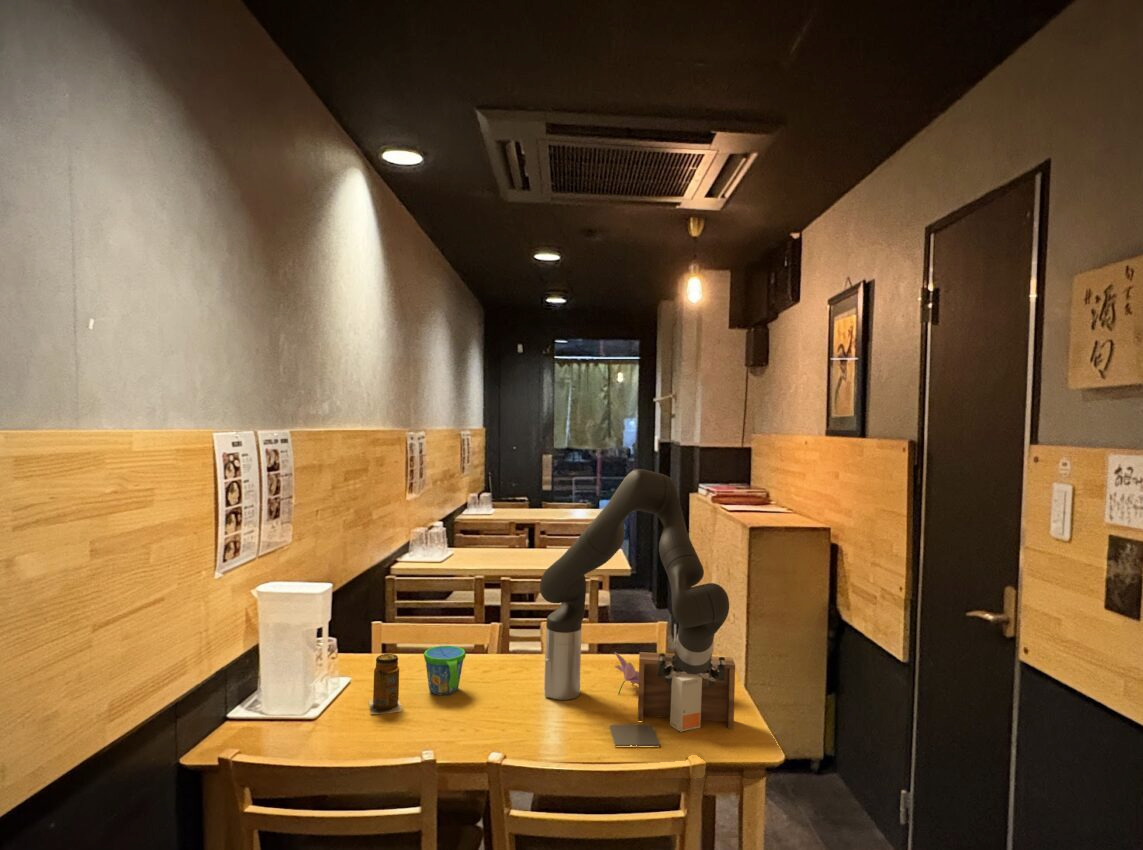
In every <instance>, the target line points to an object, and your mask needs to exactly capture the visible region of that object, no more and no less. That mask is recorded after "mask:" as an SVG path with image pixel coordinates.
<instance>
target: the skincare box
mask: <svg viewBox="0 0 1143 850" xmlns="http://www.w3.org/2000/svg"><path fill="white" fill-rule="evenodd" d="M701 695H702V677H700V676H698V675H696V674H683V675H681V676H678V677H675V676H674V677H672V686H671V713H670V717H669V718H670V719H669V720H670V721H669V725H670V726H671V727H672V728H673V729H675V730H676V731H680V733H682V732H685V731H686V732H687V731H690V730H696V729H700V728H701V721H702V720H701Z"/></svg>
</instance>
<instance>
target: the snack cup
mask: <svg viewBox="0 0 1143 850" xmlns="http://www.w3.org/2000/svg"><path fill="white" fill-rule="evenodd" d="M423 657H424V661H425V667H426V676H427V677H426V678H427V682H428V690H429V692H430V693H432V694H434V695H439V696H449V695H451V694H454V693H456V691H458V690H459V685H460V681H461V675H462V669H463V662H464V660H465V659H466V651H465V649H464V648H461V647H460V646H455V645H439V646H433V647H430V648H428V649H426V650H425V651H424V652H423Z"/></svg>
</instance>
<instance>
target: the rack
mask: <svg viewBox="0 0 1143 850" xmlns="http://www.w3.org/2000/svg"><path fill="white" fill-rule="evenodd" d="M660 653H661V652H659V653H658V652H645V651H639V653H638V654H639V657H638V658H639V660H638V672H639V685H638V698H637V699H638V700H637V722H638V721H643V722H644V716H643V715H649V716H648V717H656V716H661V717H660V718H670V713H671V686H672V684H671V685H668V683H666V682H665V676H664V675H663V676H661V677H659V676H657V672H658V667H657V664H658V659H659V654H660ZM664 654H665V657H670V658H672V657H673V656H674V655H675V653H664ZM719 657H720V656H714V655H712V658H711V659H712V660H719ZM723 657H724V658H725V680H723V681H721V680H719V679H716V681H715V684H714V685H713V686H711V688H708V687H707V679H704V678H703V677H702V676H700V675H698V676H700V677H702V695H701V721H714V722H715V721H716V722H726V725H727V728H728V729H729V728H730V729H731V730H733V729H734V727H735V693H736V692H735V689H736V687H735V685H736V683H735V682H736V663H735V661H734V658H733V657H729V656H728V657H726V656H723ZM712 667H713V668H714V669H715V670H717V669H716V668H715V667H714V666H712Z"/></svg>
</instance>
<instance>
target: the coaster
mask: <svg viewBox="0 0 1143 850" xmlns="http://www.w3.org/2000/svg"><path fill="white" fill-rule="evenodd" d="M609 730H611V731H610V733H612V734H611V738H612V737H613V738H612V741H613V740H614V741H613V744H615V745H614V747H615V746H630V745H632V746H636V745H637V746H660V747H661V743H660V741H659V738H658V735H657V733H656V731H655V728H654V726H653V724H652V723H651V724H650V723H649V724H647V723H646V724H644V723H643V724H638V723H637V724H631V723H630V724H609Z"/></svg>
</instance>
